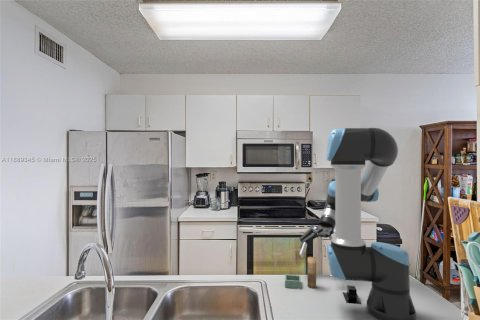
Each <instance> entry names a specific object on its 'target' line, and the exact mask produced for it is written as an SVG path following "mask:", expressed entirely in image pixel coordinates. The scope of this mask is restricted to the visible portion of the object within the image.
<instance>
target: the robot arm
mask: <svg viewBox="0 0 480 320" xmlns="http://www.w3.org/2000/svg"><path fill="white" fill-rule="evenodd" d="M327 141H328V142H327V147H326V160H327V161H329V162H330V166H331V167H332V168H333V169H334V174H335V175H334V176H335V177H334V178H335V179H334V180H332V181H331V182H330V183H329V184H328V187H327V195H326V201H325V204H324V208H323V209H322V212H321V215H320V218H319V221H318V224H317V226H314V224H312V225H310V227H309V228H308V229H307V230H306V231H305V232H304V233H303V235H301V236H300V237H299V241H300V243H301V245H300V247H299V248H300V251H299V256H300V257H301V258H304V255H305V253H306V250H307V248H308V243H311V242H312V241H314V240H315V239H316V238H319V237H320V238H324V239H327V238H329V241H330V242H331V243H329V244H326V253H327V260H328V265H329V271H330V274H331V276H332V277H333V278H334V279H335V280H336V279H338V280H343V281H357V282H369V283H370V282H371V288H370V291H369V294H368V296H367V299H366V310H367V312H368V313H369V314H370V315H371V316H372V317H374V318H376V319H378V320H417V310H416V308H415V305H414V302H413V300H412V297H411V292H410V291H411V290H410V287H411V285H410V278H411V277H410V265H411V264H410V255H409V252H408V251H407V250H405V249H404V248H402V247H400V246H397V245H396V244H395V245H394V244H392V243H387V242H380V241H376V242H375V241H373V242H371V244H370V246H367V245H366V241H365V240H364V239H363V238H362V209H361V208H362V202H363V203H364V202H367V203H370V202H371V203H372V202H377V201H378V200H379V195H380V194H379V188H378V186H379V184H380V183H381V181H382V179H383V178H384V175H385V174H386V172H387V170H388V168H389V167H390V166H392V165H393V164H395V161H396V160H397V159H398V158H397V157H398V153H399V149H398V144H397V141H396V139H395V138H394V137H393V136H392V134H390V133H389V132H388V131H386V130H385V129H381V128H378V127H358V128H357V127H344V128H335V129H333V130H331V131H330V133H329V137H328V140H327ZM366 161H367V162H366ZM363 168H364V169H363ZM362 169H363V172H361V171H362ZM333 234H335V235H334V236H332V235H333Z"/></svg>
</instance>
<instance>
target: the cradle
mask: <svg viewBox="0 0 480 320" xmlns="http://www.w3.org/2000/svg"><path fill="white" fill-rule="evenodd" d="M301 280H302V279H301V275H298V274H297V275H295V274H284V288H287V289H295V290H297V289H298V290H301V289H302V281H301Z"/></svg>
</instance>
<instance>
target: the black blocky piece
mask: <svg viewBox="0 0 480 320" xmlns="http://www.w3.org/2000/svg"><path fill="white" fill-rule="evenodd" d="M342 295H343V298H344V301H345V302H346V303H345V304H353V305H362V302H361V300H360V297H359V295H358V293H357V287H356V286H355V285H346V292H345V291H343V292H342Z"/></svg>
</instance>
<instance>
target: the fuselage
mask: <svg viewBox="0 0 480 320" xmlns="http://www.w3.org/2000/svg"><path fill="white" fill-rule="evenodd" d="M307 287H308V288H309V289H316V288H317V258H316V257H315V256H308V257H307Z"/></svg>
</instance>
